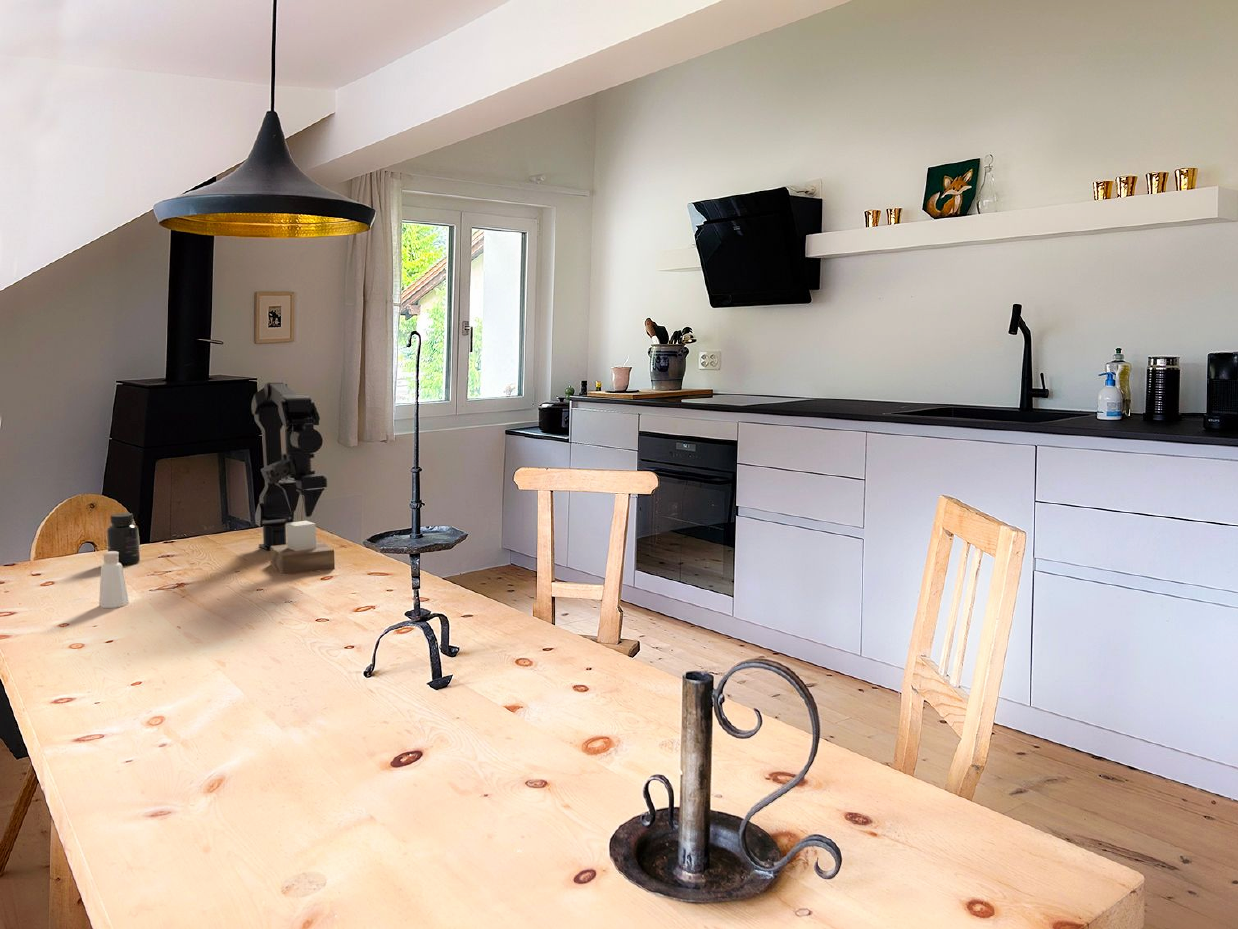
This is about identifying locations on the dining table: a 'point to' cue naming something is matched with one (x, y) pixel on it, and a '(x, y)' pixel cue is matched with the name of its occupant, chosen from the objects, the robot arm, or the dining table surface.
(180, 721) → the dining table surface
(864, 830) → the dining table surface
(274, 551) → the walnut box
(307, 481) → the robot arm
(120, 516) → the supplement bottle
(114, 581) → the salt shaker
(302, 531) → the grey block
